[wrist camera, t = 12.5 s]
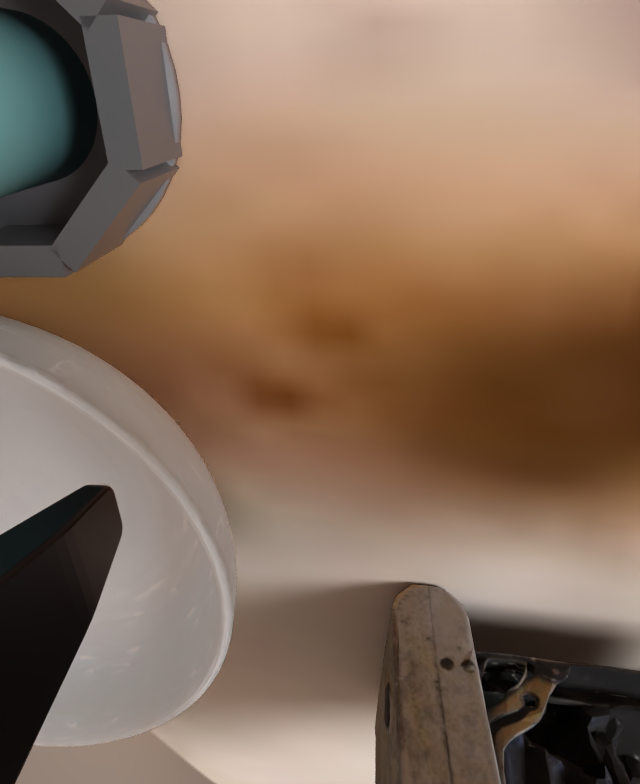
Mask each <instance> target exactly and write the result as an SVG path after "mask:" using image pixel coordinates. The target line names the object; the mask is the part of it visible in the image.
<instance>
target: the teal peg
mask: <svg viewBox="0 0 640 784" xmlns="http://www.w3.org/2000/svg"><path fill="white" fill-rule="evenodd" d="M96 131H97V105H96V99H95V95H94V91H93V87H92V84H91V81H90V79H89V76H88V74H87V72H86V70H85V68H84V65H83V64H82V62H81V60H80V59H79V57H78V56H77V54H76V53H75V51H74V50H73V49H72V47H71V46H70V45H69V44H68V43H67V41H66V40H65V39H64V38H63V37H62V36H61V35H60V34H59V33H58V32H56V31H55V30H54V29H53V28H52V27H50V26H49V25H47V24H46V23H44V22H43V21H41V20H40V19H38V18H36V17H34V16H32V15H29V14H26V13H24V12H21V11H16V10H11V9H6V8H1V7H0V197H3V196H6V195H10V194H13V193H16V192H20V191H23V190H26V189H30V188H33V187H36V186H40V185H43V184H46V183H50V182H53V181H56V180H60V179H62V178H64V177H67V176H68V175H70V174H72V173H73V172H75V171H76V170H77V169H78V168H79V167H80V166H81V165H82V164H83V162H84V161H85V160H86V158H87V157H88V155H89V153H90V151H91V149H92V146H93V144H94V141H95V136H96Z"/></svg>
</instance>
